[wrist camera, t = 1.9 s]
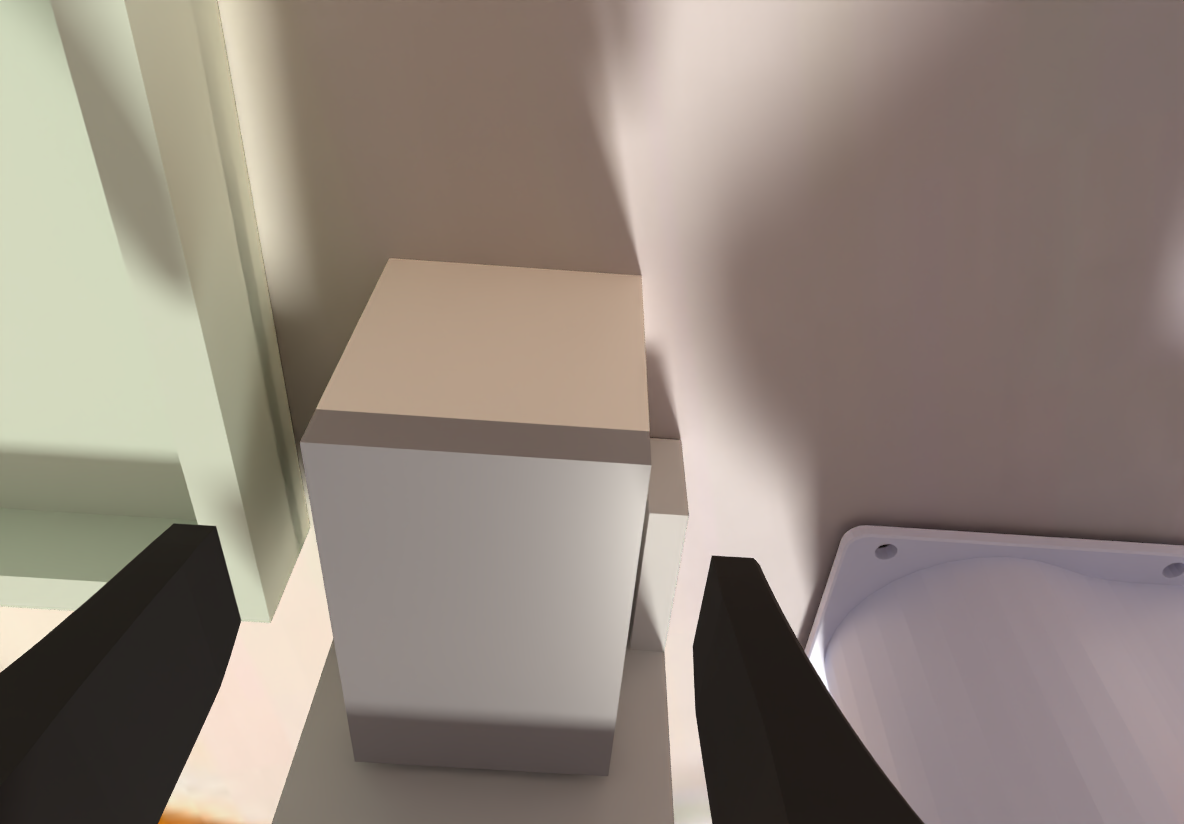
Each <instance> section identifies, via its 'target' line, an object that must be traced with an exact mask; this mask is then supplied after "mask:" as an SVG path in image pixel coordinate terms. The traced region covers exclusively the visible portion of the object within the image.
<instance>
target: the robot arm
mask: <svg viewBox="0 0 1184 824" xmlns="http://www.w3.org/2000/svg"><path fill="white" fill-rule="evenodd" d="M884 544H890V545H888V546H886V547H883V548H878V547H879V546H881V545H884ZM240 623H241V617H240V614H239V610H238V606H237V602H236V599H235V595H234V591H233V587H232V584H231V580H230V576H229V572H228V569H227V565H226V561H225V557H224V554H223V550H222V546H221V543H220V539H219V535H218V531H217V528H216V526H209V525H192V524H176V523H174V524H172V525H171V526H170V527H169V528H168V529H167V530H165V531H164V532H163V533H162V534H161V535H160V536H159V537H157V538H156V539H155V540H154V541H153V542H152V543H151V544H149V545H148V546H147V547H146V548H145V549H144V550H143V551H142V552H141V553H139V554H138V555H137V556H136V557H135V558H134V559H133V560H132V561H131V562H129V563H128V564H127V565H126V566H125V567H124V568H123V569H122V570H121V571H119V572H118V573H117V574H116V575H115V576H114V577H113V578H112V579H110V580H109V581H108V582H107V583H106V584H105V585H104V586H103V587H102V588H100V589H99V590H98V591H97V592H96V593H95V594H94V595H93V596H91V597H90V598H89V599H88V600H87V601H86V602H85V603H83V604H82V605H81V606H80V607H79V608H78V609H76V610H75V611H74V612H73V613H72V614H71V615H70V616H68V617H67V618H66V619H65V620H64V621H63V622H61V623H60V624H59V625H58V626H57V627H56V628H54V629H53V630H52V631H51V632H50V633H49V634H48V635H46V636H45V637H44V638H43V639H42V640H40V641H39V642H38V643H37V644H36V645H34V646H33V647H32V648H31V649H30V650H28V651H27V652H26V653H25V654H23V655H22V656H21V657H20V658H18V659H17V660H16V661H15V662H13V663H12V664H11V665H10V666H8V667H7V668H6V669H5V670H3V671H2V672H1V673H0V824H158V822H159V820H160V818H161V815H162V813H163V811H164V809H165V807H166V805H167V803H168V800H169V798H170V796H171V794H172V792H173V790H174V787H175V785H176V783H177V781H178V779H179V777H180V774H181V772H182V770H183V768H184V766H185V764H186V761H187V759H188V757H189V755H190V753H191V751H192V748H193V746H194V744H195V742H196V740H197V738H198V735H199V733H200V731H201V729H202V727H203V724H204V722H205V720H206V718H207V716H208V713H209V711H210V709H211V707H212V705H213V702H214V700H215V698H216V695H217V693H218V691H219V689H220V686H221V683H222V680H223V677H224V674H225V671H226V668H227V665H228V662H229V659H230V656H231V653H232V649H233V646H234V643H235V639H236V636H237V633H238V629H239V626H240ZM693 662H694V688H695V709H696V718H697V725H698V732H699V739H700V746H701V752H702V759H703V766H704V772H705V779H706V785H707V792H708V798H709V805H710V811H711V818H712V824H1184V546H1183V545H1167V544H1152V543H1136V542H1120V541H1105V540H1089V539H1074V538H1058V537H1043V536H1027V535H1011V534H996V533H980V532H965V531H949V530H934V529H918V528H902V527H887V526H871V525H864V526H857V527H854V528H852V529H850V530H849V531H847V532H846V533H845V534H844V536H843V537H842V539H841V542H840V545H839V548H838V551H837V554H836V557H835V560H834V563H833V566H832V569H831V572H830V575H829V578H828V581H827V584H826V587H825V590H824V593H823V596H822V599H821V602H820V605H819V608H818V611H817V614H816V617H815V620H814V623H813V626H812V629H811V632H810V635H809V638H808V642H807V645H806V648H805V651H804V650H803V648H802V646H801V645H800V643H799V641H798V639H797V638H796V636H795V634H794V632H793V630H792V628H791V627H790V625H789V623H788V621H787V619H786V617H785V616H784V614H783V612H782V610H781V608H780V606H779V604H778V602H777V600H776V598H775V596H774V594H773V592H772V590H771V588H770V586H769V584H768V582H767V580H766V578H765V576H764V574H763V572H762V569H761V567H760V565H759V564H758V563H757V561H756V560H755V559H754V558H742V557H725V556H712V558H711V563H710V568H709V572H708V577H707V582H706V586H705V591H704V596H703V601H702V605H701V610H700V615H699V620H698V624H697V629H696V634H695V639H694V643H693Z"/></svg>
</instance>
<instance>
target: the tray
mask: <svg viewBox="0 0 1184 824" xmlns="http://www.w3.org/2000/svg"><path fill="white" fill-rule="evenodd" d="M174 523H176V524H192V525H209V526H216V528H217V531H218V535H219V539H220V543H221V546H222V550H223V554H224V557H225V561H226V565H227V569H228V572H229V576H230V580H231V584H232V587H233V591H234V595H235V599H236V602H237V606H238V610H239V614H240V617H241V621H248V622H264V623H271V621H272V619H273V616H274V614H275V611H276V609H277V606H278V604H279V602H280V599H281V597H282V594H283V592H284V590H285V587H286V585H287V582H288V580H289V578H290V575H291V573H292V570H293V568H294V565H295V563H296V561H297V558H298V556H299V553H300V551H301V549H302V546H303V544H304V541H305V539H306V537H307V534H308V532H309V529H310V524H309V518H308V512H307V507H306V501H305V495H304V490H303V484H302V478H301V473H300V467H299V461H298V456H297V450H296V444H295V439H294V433H293V427H292V422H291V416H290V410H289V405H288V399H287V393H286V388H285V382H284V376H283V371H282V365H281V359H280V354H279V348H278V342H277V337H276V331H275V325H274V320H273V314H272V309H271V303H270V297H269V292H268V286H267V280H266V275H265V269H264V263H263V258H262V252H261V246H260V241H259V235H258V229H257V224H256V218H255V212H254V207H253V201H252V195H251V190H250V184H249V178H248V173H247V167H246V161H245V156H244V150H243V144H242V139H241V133H240V127H239V122H238V116H237V110H236V105H235V99H234V93H233V88H232V82H231V76H230V71H229V65H228V59H227V54H226V48H225V42H224V37H223V31H222V25H221V20H220V14H219V8H218V3H217V0H0V606H1V607H18V608H34V609H50V610H67V611H75V610H76V609H78V608H79V607H80V606H81V605H82V604H83V603H85V602H86V601H87V600H88V599H89V598H90V597H91V596H93V595H94V594H95V593H96V592H97V591H98V590H99V589H100V588H102V587H103V586H104V585H105V584H106V583H107V582H108V581H109V580H110V579H112V578H113V577H114V576H115V575H116V574H117V573H118V572H119V571H121V570H122V569H123V568H124V567H125V566H126V565H127V564H128V563H129V562H131V561H132V560H133V559H134V558H135V557H136V556H137V555H138V554H139V553H141V552H142V551H143V550H144V549H145V548H146V547H147V546H148V545H149V544H151V543H152V542H153V541H154V540H155V539H156V538H157V537H159V536H160V535H161V534H162V533H163V532H164V531H165V530H167V529H168V528H169V527H170V526H171V525H172V524H174Z"/></svg>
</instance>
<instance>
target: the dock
mask: <svg viewBox="0 0 1184 824" xmlns="http://www.w3.org/2000/svg"><path fill="white" fill-rule="evenodd" d="M650 446H651V473H650V480H649V487H648V494H647V501H646V509H645V516H644V523H643V530H642V537H641V545H640V552H639V559H638V566H637V573H636V581H635V588H634V595H633V602H632V609H631V617H630V624H629V631H628V638H627V645H626V653H625V660H624V667H623V674H622V681H621V689H620V696H619V703H618V710H617V717H616V724H615V732H614V739H613V746H612V753H611V760H610V768H609V775H608V776H593V775H575V774H558V773H541V772H524V771H507V770H490V769H473V768H455V767H438V766H421V765H404V764H387V763H370V762H355V760H354V754H353V748H352V743H351V737H350V731H349V725H348V719H347V714H346V708H345V702H344V696H343V690H342V685H341V679H340V673H339V667H338V661H337V656H336V650H335V644H334V638H333V641H332V644H331V647H330V650H329V653H328V656H327V659H326V662H325V665H324V668H323V671H322V674H321V677H320V680H319V683H318V686H317V689H316V692H315V695H314V698H313V701H312V704H311V707H310V710H309V713H308V716H307V719H306V722H305V725H304V728H303V731H302V734H301V737H300V740H299V743H298V746H297V749H296V752H295V755H294V758H293V761H292V764H291V767H290V770H289V773H288V776H287V779H286V782H285V785H284V788H283V791H282V794H281V797H280V800H279V803H278V806H277V809H276V812H275V815H274V818H273V821H272V824H674V813H673V796H672V778H671V761H670V743H669V725H668V708H667V690H666V673H665V655H664V651H665V645H666V640H667V634H668V629H669V623H670V618H671V612H672V607H673V601H674V596H675V590H676V585H677V579H678V573H679V568H680V562H681V557H682V551H683V546H684V540H685V535H686V529H687V524H688V518H689V512H688V502H687V492H686V482H685V472H684V462H683V453H682V443H681V440H675V439H659V438H650Z"/></svg>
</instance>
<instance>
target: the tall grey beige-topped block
mask: <svg viewBox="0 0 1184 824" xmlns="http://www.w3.org/2000/svg"><path fill="white" fill-rule="evenodd" d="M300 447H301V453H302V459H303V464H304V470H305V476H306V482H307V488H308V493H309V499H310V505H311V511H312V516H313V522H314V528H315V534H316V540H317V545H318V551H319V557H320V563H321V569H322V574H323V580H324V586H325V592H326V598H327V603H328V609H329V615H330V621H331V627H332V632H333V638H334V644H335V650H336V656H337V661H338V667H339V673H340V679H341V685H342V690H343V696H344V702H345V708H346V714H347V719H348V725H349V731H350V737H351V743H352V748H353V754H354V760H355V762H370V763H387V764H404V765H421V766H438V767H455V768H473V769H490V770H507V771H524V772H541V773H558V774H575V775H593V776H608V775H609V768H610V760H611V753H612V746H613V739H614V732H615V724H616V717H617V710H618V703H619V696H620V689H621V681H622V674H623V667H624V660H625V653H626V645H627V638H628V631H629V624H630V617H631V609H632V602H633V595H634V588H635V581H636V573H637V566H638V559H639V552H640V545H641V537H642V530H643V523H644V516H645V509H646V501H647V494H648V487H649V480H650V473H651V446H650V427H649V408H648V388H647V369H646V350H645V331H644V312H643V293H642V276H640V275H625V274H611V273H597V272H582V271H568V270H554V269H540V268H525V267H511V266H497V265H482V264H468V263H454V262H440V261H425V260H411V259H397V258H389V260H388V262H387V264H386V266H385V268H384V270H383V272H382V274H381V276H380V278H379V280H378V282H377V284H376V286H375V288H374V291H373V293H372V295H371V297H370V299H369V301H368V303H367V305H366V307H365V309H364V311H363V313H362V315H361V317H360V319H359V321H358V323H357V325H356V328H355V330H354V332H353V334H352V336H351V338H350V340H349V342H348V344H347V346H346V348H345V350H344V352H343V354H342V356H341V358H340V360H339V362H338V364H337V367H336V369H335V371H334V373H333V375H332V377H331V379H330V381H329V383H328V385H327V387H326V389H325V391H324V393H323V395H322V397H321V399H320V401H319V403H318V406H317V408H316V410H315V412H314V414H313V416H312V418H311V420H310V422H309V424H308V426H307V428H306V430H305V432H304V434H303V436H302V438H301V440H300Z"/></svg>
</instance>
